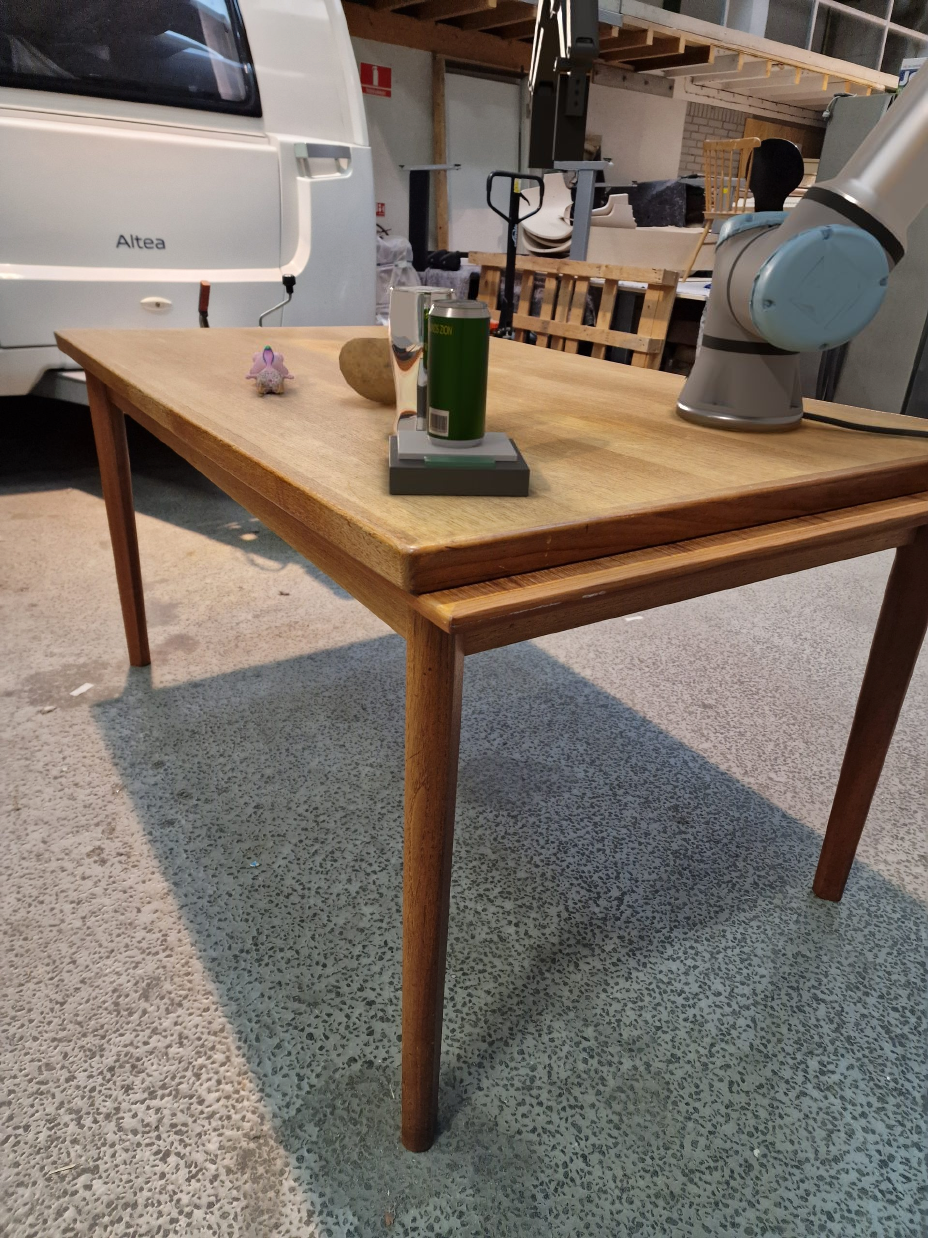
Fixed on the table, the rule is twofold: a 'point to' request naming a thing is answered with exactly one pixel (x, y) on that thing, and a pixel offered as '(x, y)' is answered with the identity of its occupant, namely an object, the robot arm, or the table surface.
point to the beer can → (457, 372)
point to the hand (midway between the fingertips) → (553, 165)
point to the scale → (456, 467)
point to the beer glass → (411, 351)
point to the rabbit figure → (269, 371)
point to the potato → (369, 368)
